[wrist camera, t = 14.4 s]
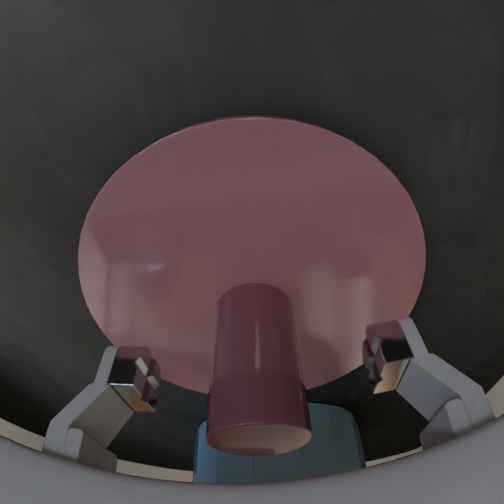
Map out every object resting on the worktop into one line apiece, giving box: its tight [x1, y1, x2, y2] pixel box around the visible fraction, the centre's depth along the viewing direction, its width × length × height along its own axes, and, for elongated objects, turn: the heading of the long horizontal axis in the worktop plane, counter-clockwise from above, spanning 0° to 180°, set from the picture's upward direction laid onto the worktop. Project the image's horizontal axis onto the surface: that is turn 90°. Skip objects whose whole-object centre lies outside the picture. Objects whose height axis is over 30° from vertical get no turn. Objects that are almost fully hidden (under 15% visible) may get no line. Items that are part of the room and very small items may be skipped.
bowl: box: [193, 403, 366, 483], centre depth 17 cm, size 13×13×8 cm
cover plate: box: [78, 115, 426, 456], centre depth 9 cm, size 13×13×6 cm
